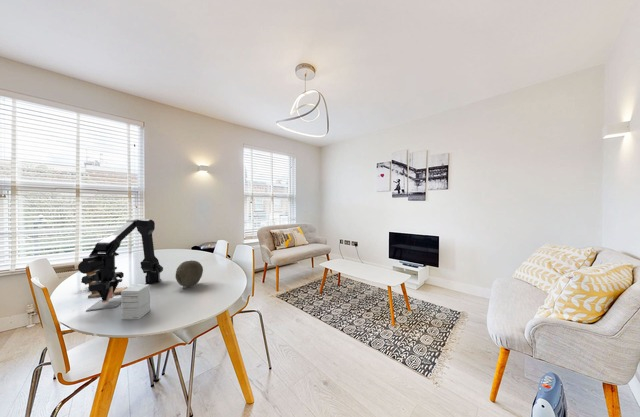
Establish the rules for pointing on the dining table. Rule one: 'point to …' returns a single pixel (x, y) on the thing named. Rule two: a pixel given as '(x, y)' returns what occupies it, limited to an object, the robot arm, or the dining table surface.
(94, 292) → the stand
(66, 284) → the dining table surface
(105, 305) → the coaster
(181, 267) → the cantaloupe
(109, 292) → the u-shaped block
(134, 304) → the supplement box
